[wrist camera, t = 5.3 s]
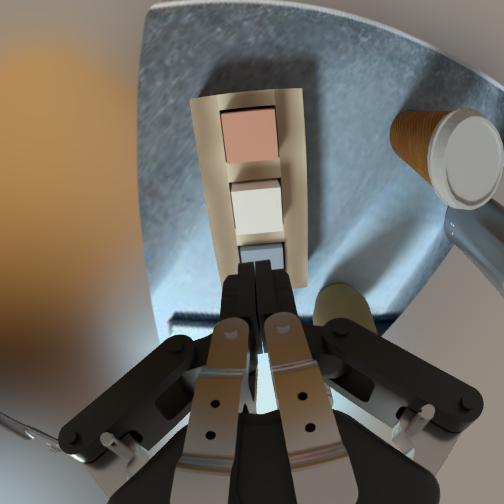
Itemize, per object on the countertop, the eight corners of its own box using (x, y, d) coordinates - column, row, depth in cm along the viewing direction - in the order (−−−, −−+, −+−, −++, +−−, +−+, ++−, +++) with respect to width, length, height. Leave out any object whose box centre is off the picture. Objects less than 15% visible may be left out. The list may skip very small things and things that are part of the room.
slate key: (279, 232, 32) (282, 247, 29) (280, 264, 34) (284, 281, 32) (240, 236, 32) (240, 251, 29) (245, 267, 35) (245, 284, 32)
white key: (276, 176, 27) (280, 187, 25) (279, 216, 30) (283, 231, 27) (232, 180, 28) (230, 192, 25) (237, 220, 30) (236, 235, 27)
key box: (294, 89, 25) (301, 88, 22) (301, 267, 36) (307, 287, 33) (197, 98, 25) (189, 99, 22) (225, 274, 37) (223, 294, 33)
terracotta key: (271, 107, 24) (274, 109, 21) (274, 151, 26) (278, 159, 23) (224, 112, 24) (220, 114, 21) (229, 155, 26) (227, 164, 23)
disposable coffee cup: (440, 101, 24) (509, 118, 14) (438, 173, 29) (498, 212, 19) (375, 94, 25) (439, 103, 15) (377, 174, 30) (432, 218, 20)
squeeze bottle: (343, 321, 42) (374, 421, 27) (298, 311, 41) (319, 422, 25) (370, 283, 38) (419, 386, 23) (324, 269, 37) (365, 384, 21)
